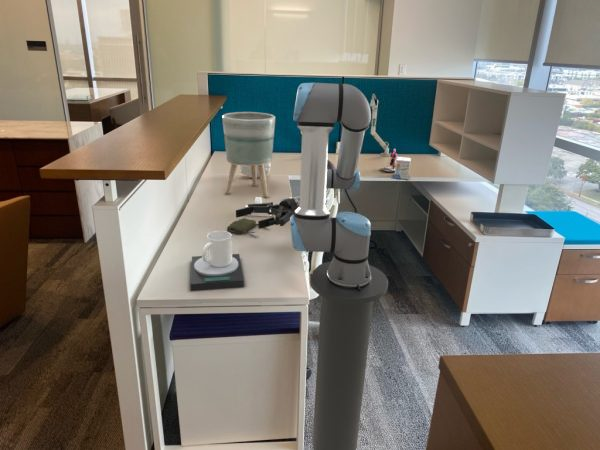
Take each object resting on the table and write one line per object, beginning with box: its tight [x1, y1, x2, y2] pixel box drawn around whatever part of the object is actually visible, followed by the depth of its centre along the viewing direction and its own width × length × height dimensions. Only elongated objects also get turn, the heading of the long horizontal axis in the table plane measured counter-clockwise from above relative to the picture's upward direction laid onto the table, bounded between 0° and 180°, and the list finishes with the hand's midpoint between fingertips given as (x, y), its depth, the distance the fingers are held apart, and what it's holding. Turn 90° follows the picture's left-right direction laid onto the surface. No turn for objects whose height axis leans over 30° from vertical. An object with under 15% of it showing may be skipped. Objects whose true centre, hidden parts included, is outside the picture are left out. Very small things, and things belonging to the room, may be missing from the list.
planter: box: [221, 111, 276, 198], centre depth 231 cm, size 26×26×40 cm
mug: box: [201, 230, 233, 267], centre depth 152 cm, size 12×8×10 cm
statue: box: [379, 148, 398, 173], centre depth 286 cm, size 11×9×15 cm
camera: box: [239, 162, 272, 179], centre depth 261 cm, size 11×18×16 cm, turn 97°
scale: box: [190, 253, 245, 291], centre depth 153 cm, size 20×17×3 cm
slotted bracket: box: [244, 196, 273, 217], centre depth 208 cm, size 13×7×8 cm, turn 88°
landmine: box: [226, 217, 268, 238], centre depth 191 cm, size 14×3×15 cm
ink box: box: [393, 156, 412, 180], centre depth 274 cm, size 9×8×12 cm
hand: (247, 219), depth 157 cm, fingers open, 13 cm apart
